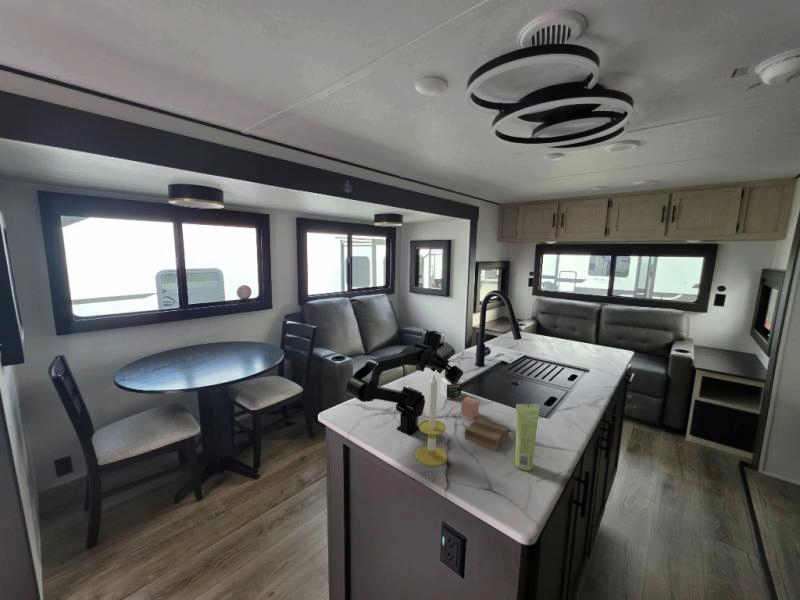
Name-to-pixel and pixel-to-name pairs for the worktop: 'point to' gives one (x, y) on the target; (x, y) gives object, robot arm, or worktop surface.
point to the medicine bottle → (450, 388)
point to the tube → (526, 434)
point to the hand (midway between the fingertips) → (453, 368)
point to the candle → (432, 433)
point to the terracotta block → (469, 407)
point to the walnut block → (486, 433)
